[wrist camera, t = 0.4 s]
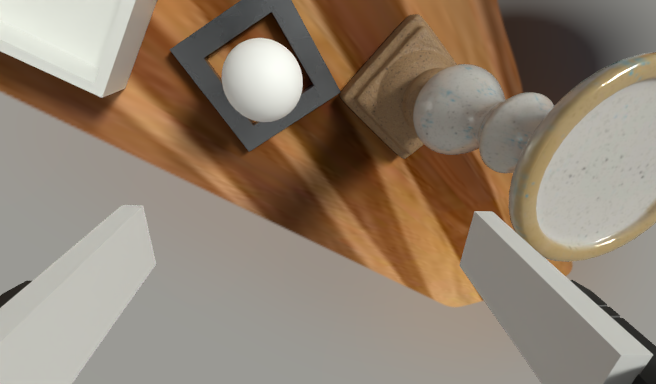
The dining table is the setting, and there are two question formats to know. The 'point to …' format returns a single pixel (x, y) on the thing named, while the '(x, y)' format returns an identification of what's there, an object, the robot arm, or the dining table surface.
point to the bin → (77, 38)
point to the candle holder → (525, 138)
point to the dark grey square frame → (227, 26)
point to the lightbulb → (262, 80)
